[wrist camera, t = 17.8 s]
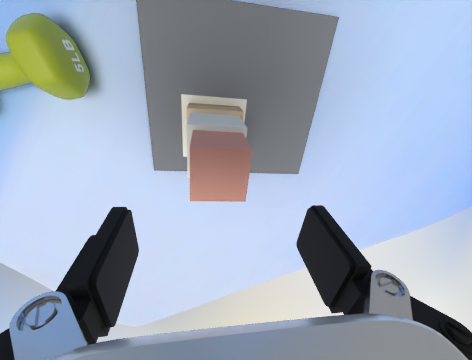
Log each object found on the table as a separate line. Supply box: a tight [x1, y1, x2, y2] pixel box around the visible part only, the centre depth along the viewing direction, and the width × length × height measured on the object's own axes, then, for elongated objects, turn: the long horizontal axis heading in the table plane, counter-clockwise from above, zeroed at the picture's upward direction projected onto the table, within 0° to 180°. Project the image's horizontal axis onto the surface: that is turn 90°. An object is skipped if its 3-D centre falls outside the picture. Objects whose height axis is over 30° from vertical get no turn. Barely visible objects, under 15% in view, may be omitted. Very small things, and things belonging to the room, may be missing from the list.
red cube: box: [190, 130, 253, 201], centre depth 20 cm, size 5×5×5 cm
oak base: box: [187, 103, 244, 122], centre depth 29 cm, size 7×7×4 cm
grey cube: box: [187, 112, 247, 179], centre depth 25 cm, size 6×6×6 cm
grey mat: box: [136, 0, 339, 174], centre depth 29 cm, size 22×24×1 cm
